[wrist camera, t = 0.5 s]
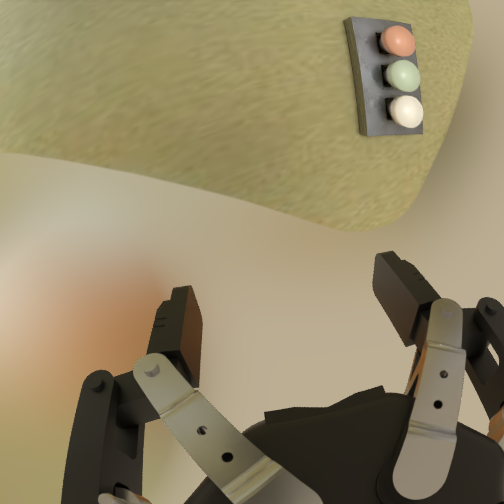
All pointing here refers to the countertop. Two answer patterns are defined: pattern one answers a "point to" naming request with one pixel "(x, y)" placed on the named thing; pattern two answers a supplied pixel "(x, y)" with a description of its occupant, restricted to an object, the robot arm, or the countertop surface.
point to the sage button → (402, 75)
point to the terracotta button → (397, 41)
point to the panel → (375, 77)
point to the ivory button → (406, 111)
